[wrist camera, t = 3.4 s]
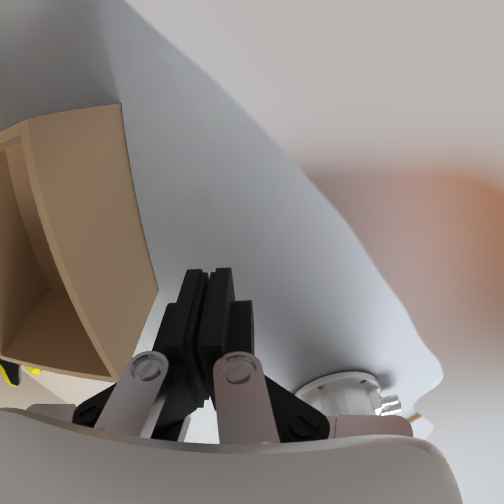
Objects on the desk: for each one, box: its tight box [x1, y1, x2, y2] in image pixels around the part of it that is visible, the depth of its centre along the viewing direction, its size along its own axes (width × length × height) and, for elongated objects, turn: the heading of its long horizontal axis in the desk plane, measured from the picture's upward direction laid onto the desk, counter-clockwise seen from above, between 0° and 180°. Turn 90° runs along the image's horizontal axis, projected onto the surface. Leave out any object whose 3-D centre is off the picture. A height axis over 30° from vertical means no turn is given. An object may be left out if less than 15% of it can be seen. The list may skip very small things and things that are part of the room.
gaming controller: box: [0, 358, 42, 387], centre depth 30 cm, size 15×6×10 cm
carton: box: [0, 103, 158, 383], centre depth 18 cm, size 14×17×11 cm
